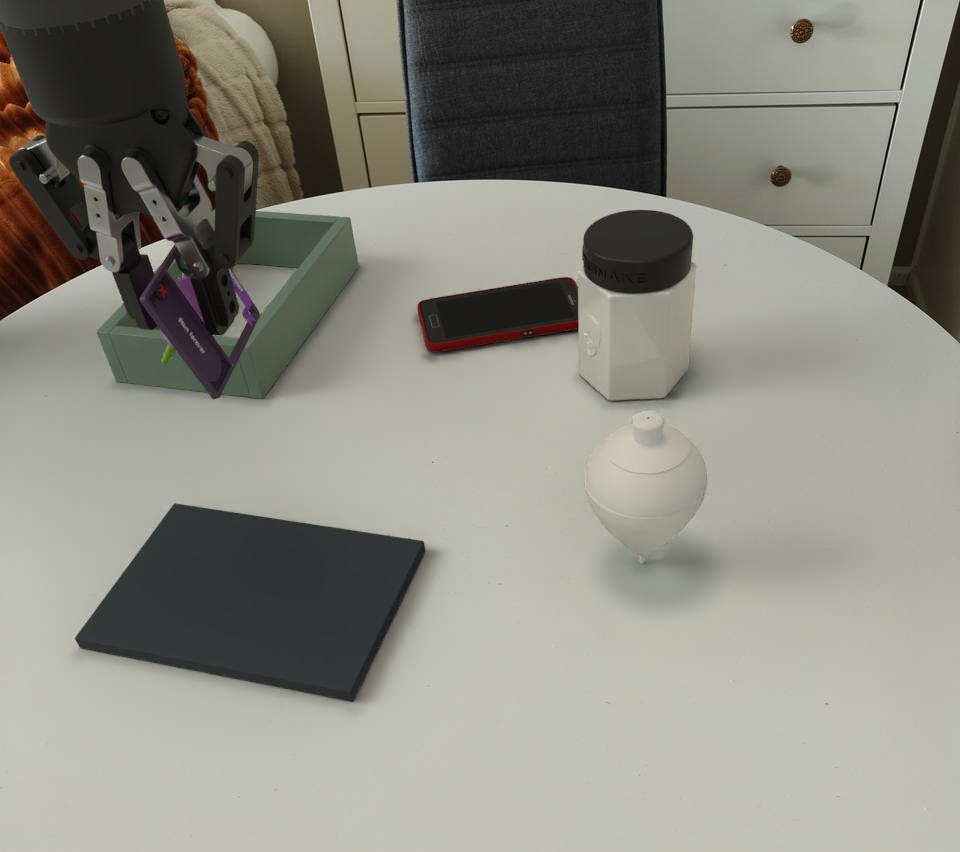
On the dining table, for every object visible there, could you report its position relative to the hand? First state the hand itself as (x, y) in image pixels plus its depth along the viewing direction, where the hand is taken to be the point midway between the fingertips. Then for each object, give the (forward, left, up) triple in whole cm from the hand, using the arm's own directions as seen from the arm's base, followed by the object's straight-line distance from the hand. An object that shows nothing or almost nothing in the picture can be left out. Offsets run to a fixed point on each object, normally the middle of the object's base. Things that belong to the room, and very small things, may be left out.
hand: (187, 324), depth 60 cm
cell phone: (+8, +33, -19) cm, 39 cm away
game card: (0, 0, -2) cm, 2 cm away
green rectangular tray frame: (-16, +29, -19) cm, 38 cm away
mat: (+1, -4, -19) cm, 19 cm away
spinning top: (+26, +5, -19) cm, 33 cm away
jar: (+21, +27, -19) cm, 39 cm away
